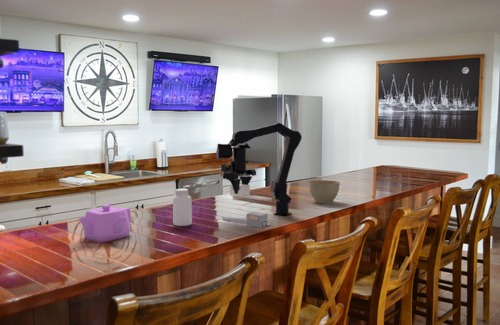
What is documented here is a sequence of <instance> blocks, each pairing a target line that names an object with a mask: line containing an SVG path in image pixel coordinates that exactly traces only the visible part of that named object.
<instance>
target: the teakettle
mask: <svg viewBox="0 0 500 325" xmlns="http://www.w3.org/2000/svg"><path fill="white" fill-rule="evenodd" d="M78 220H79V223H80V224H81V225H82V228H83V235H84V237H85V238H84V239H87V240H90V241H94V242H96V243H107V242H109V241H110V242H111V241H115V240H118V239H122V238H125V237H129V236H130V233H131V226H130V223H132V215H131V208H129V207H125V208H121V207H117V206H116V207H114V206H112V205H110V204H104V205H101V207H100V208H91V209H90V210H87V211H86V212H85V215H84V216H81V217H79V218H78Z"/></svg>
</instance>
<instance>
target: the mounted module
mask: <svg viewBox="0 0 500 325" xmlns="http://www.w3.org/2000/svg"><path fill="white" fill-rule="evenodd" d="M268 215H269V214H268V213H266V212H260V211H259V212H258V211H252V212H248V213H246V218H245V219H247V225H252V226H259V227H260V228H262V227H261V226H262V222H263V221H264V222H265V225H266V226H268V225H267V224H269V223H268V220H269V219H268V218H269V217H268ZM252 226H251V227H252ZM259 227H258V228H259Z"/></svg>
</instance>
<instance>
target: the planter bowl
mask: <svg viewBox="0 0 500 325" xmlns="http://www.w3.org/2000/svg"><path fill="white" fill-rule="evenodd" d="M340 184H341V182H340V181H336V180H324V179H323V180H319V179H318V180H309V181H308V185H309V192H310V194H311V197H312V198H313V199H314V202H315V203H317V204H333V203H334V200H335V199H336V197H337V195H338V193H339V191H340ZM332 202H333V203H332Z"/></svg>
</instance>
